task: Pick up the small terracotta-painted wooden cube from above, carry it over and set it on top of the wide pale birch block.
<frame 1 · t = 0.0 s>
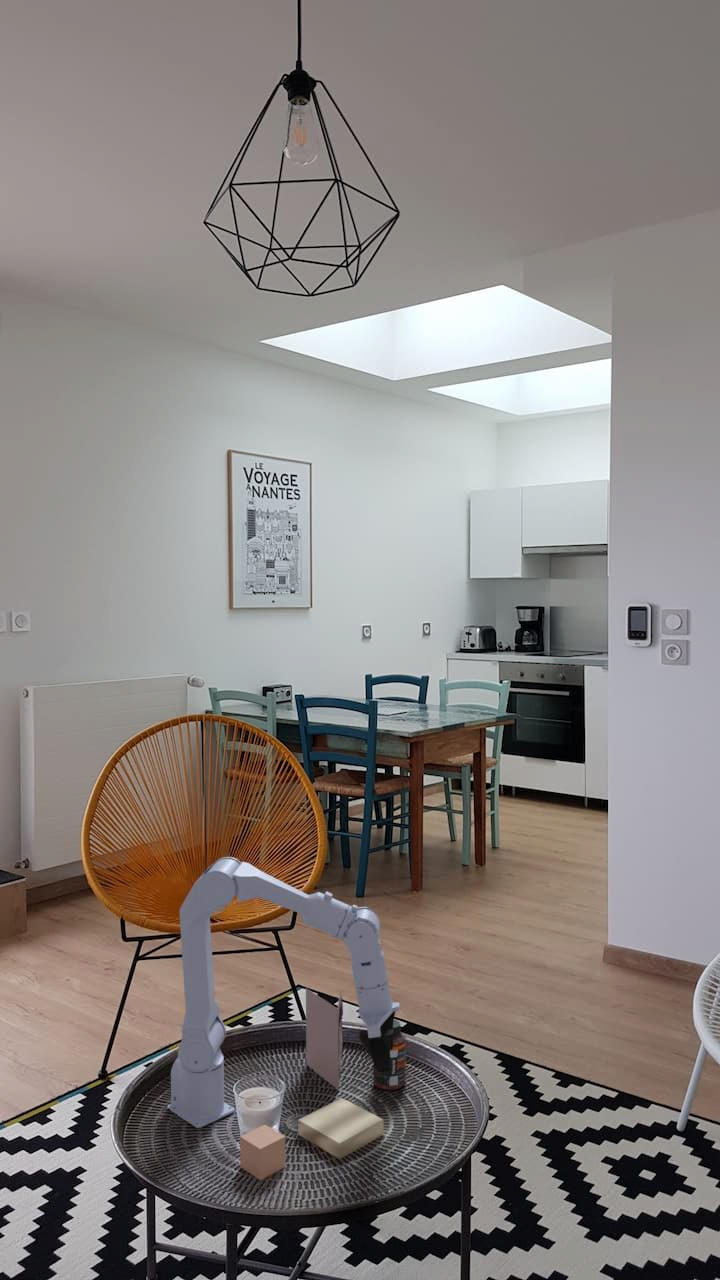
hand: (385, 1060, 170), 11 cm above the table, tool pointing down, fingers open, 7 cm apart
birch block: (340, 1137, 166), on the table
supplement bottle: (389, 1084, 183), on the table
terracotta cube: (263, 1167, 157), on the table
greeting card: (324, 1075, 187), on the table
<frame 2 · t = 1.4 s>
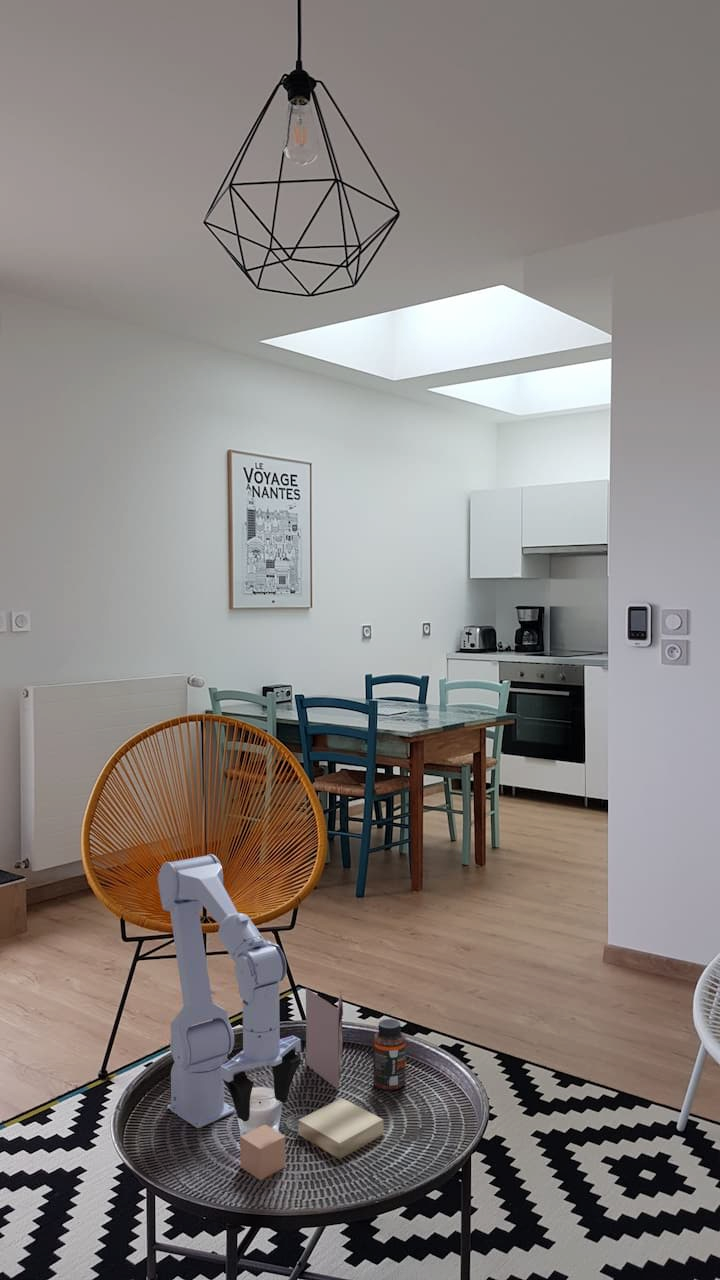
hand: (262, 1109, 157), 9 cm above the table, tool pointing down, fingers open, 7 cm apart
nothing on the table moved.
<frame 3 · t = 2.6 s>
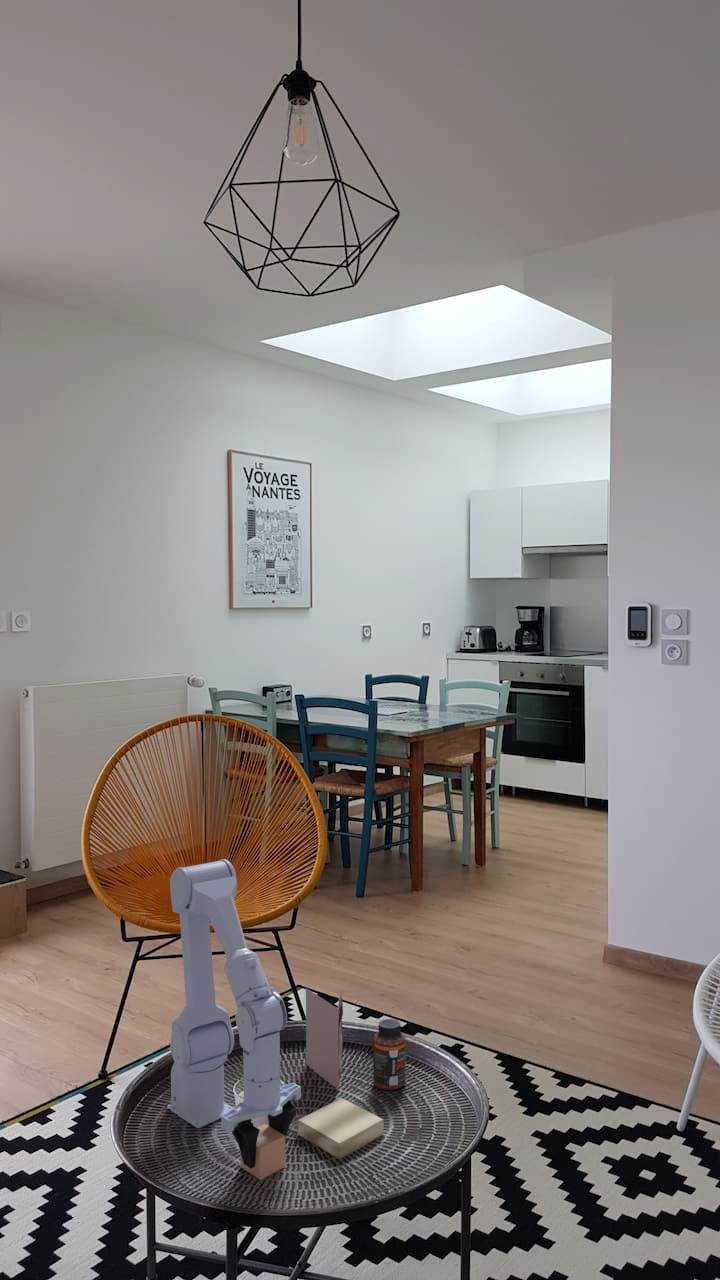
hand: (262, 1157, 157), 1 cm above the table, tool pointing down, fingers closed on terracotta cube, 5 cm apart
terracotta cube: (262, 1166, 157), on the table, touching gripper
everything else where it was.
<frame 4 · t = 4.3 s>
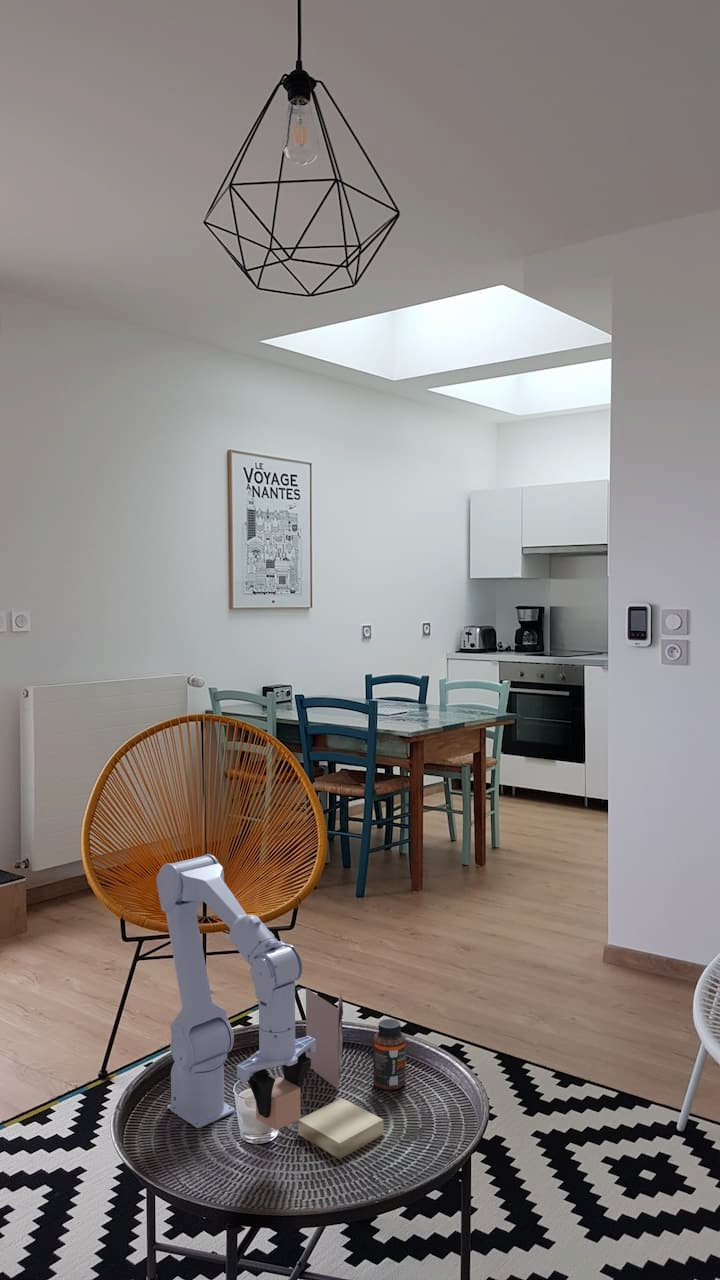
hand: (278, 1108, 159), 8 cm above the table, tool pointing down, fingers closed on terracotta cube, 5 cm apart
terracotta cube: (278, 1118, 159), point 7 cm above the table, touching gripper
everything else where it was.
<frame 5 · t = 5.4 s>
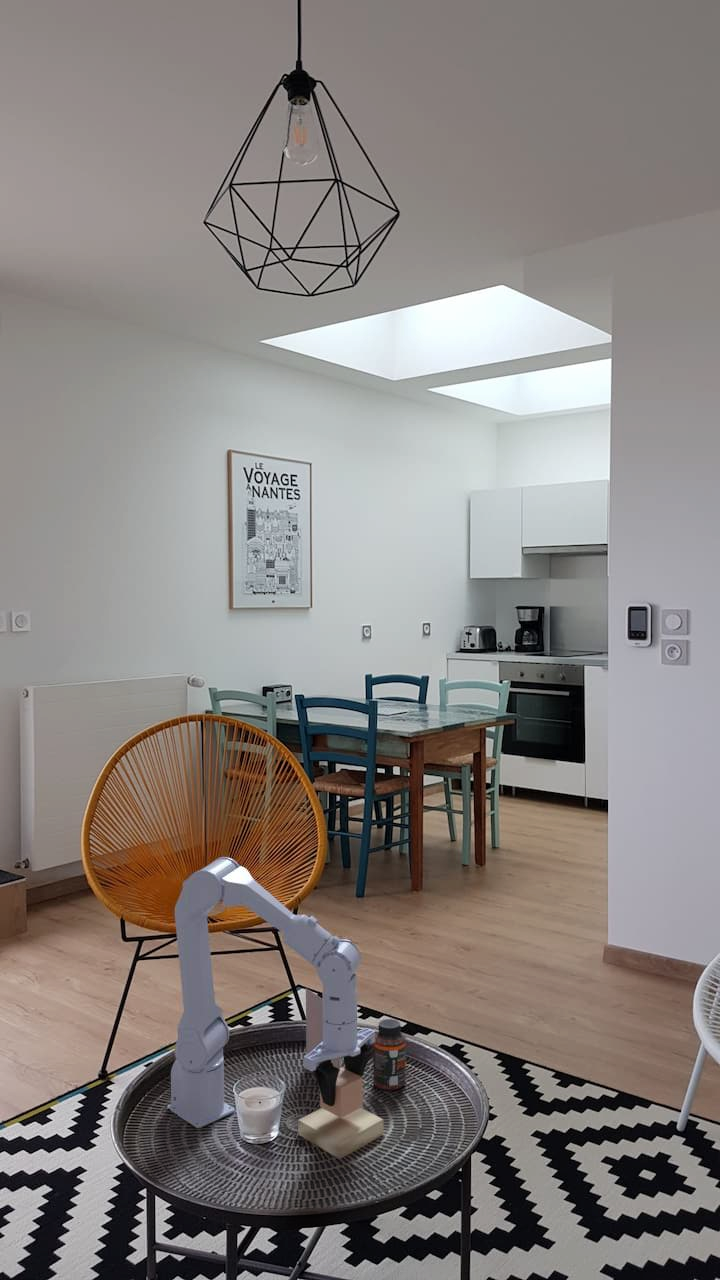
hand: (340, 1097, 166), 6 cm above the table, tool pointing down, fingers closed on terracotta cube, 5 cm apart
terracotta cube: (341, 1106, 166), point 5 cm above the table, touching gripper
everything else where it was.
when the fingers open (5 cm above the table, at t = 6.0 s): terracotta cube drops 1 cm, resting on birch block.
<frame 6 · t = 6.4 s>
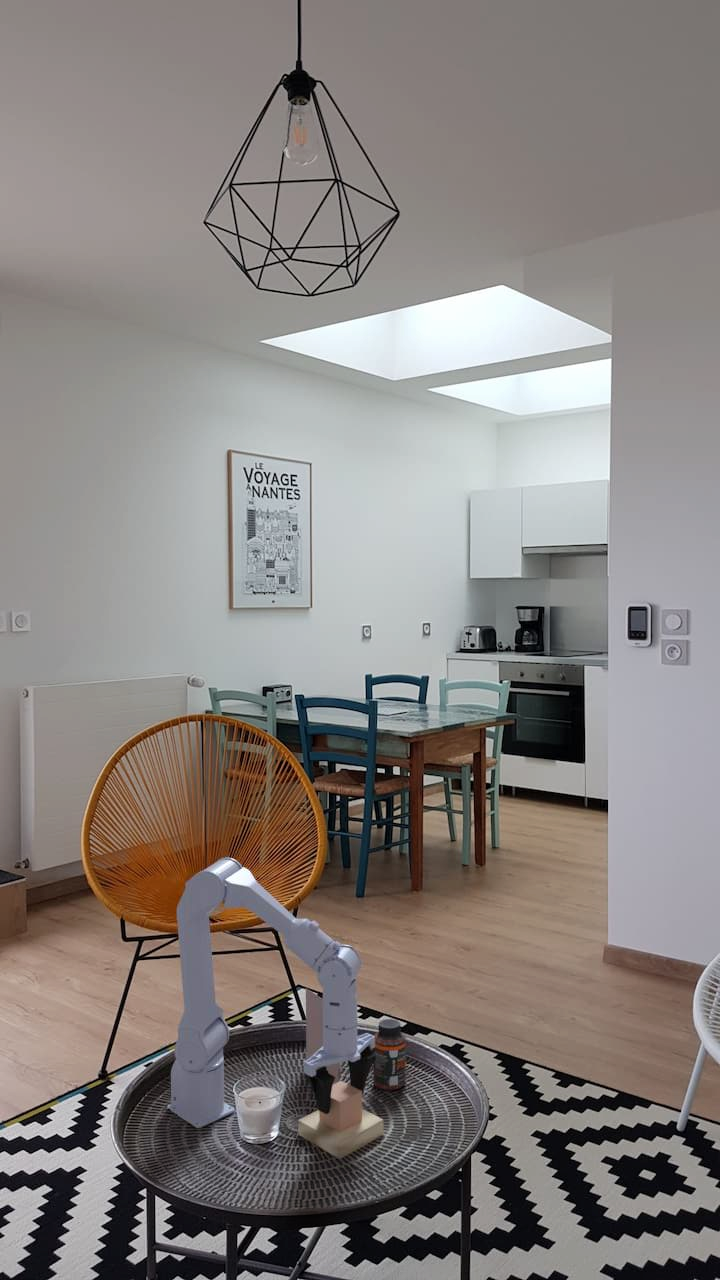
hand: (340, 1102, 166), 5 cm above the table, tool pointing down, fingers open, 7 cm apart
birch block: (340, 1137, 166), on the table, touching terracotta cube
terracotta cube: (340, 1120, 166), point 2 cm above the table, touching birch block
everything else where it was.
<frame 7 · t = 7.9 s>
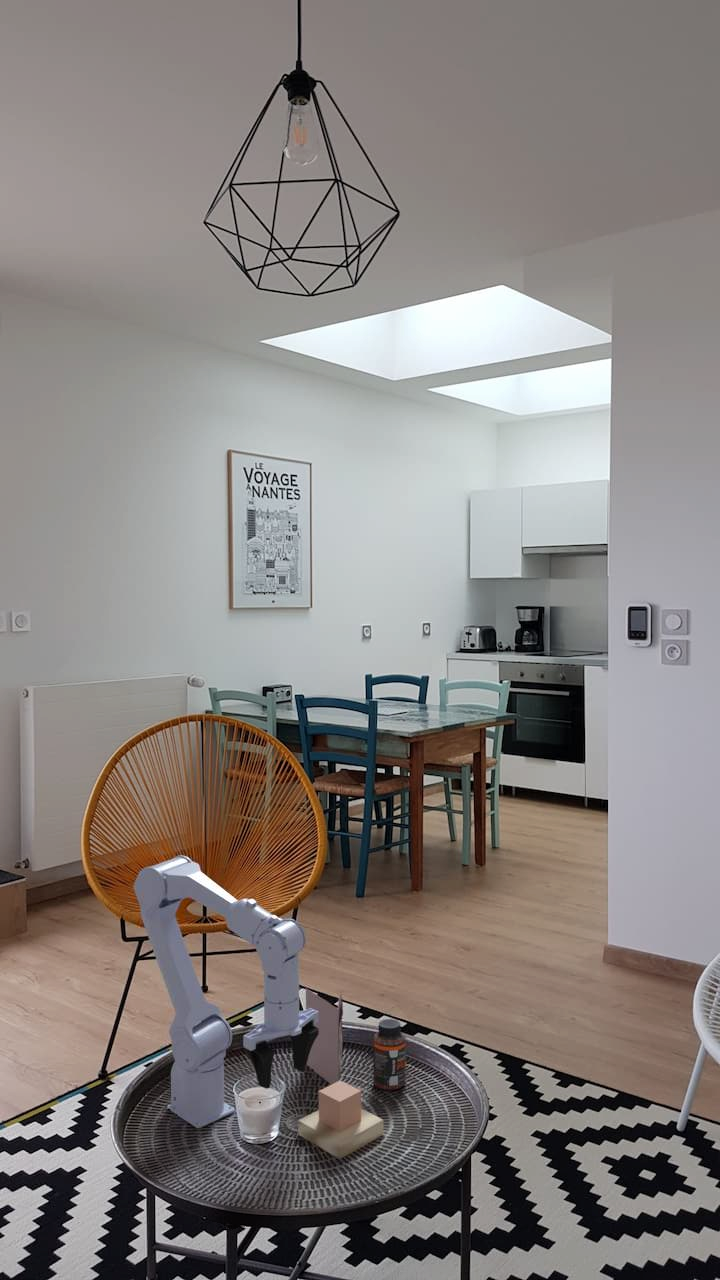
hand: (282, 1077, 165), 10 cm above the table, tool pointing down, fingers open, 7 cm apart
birch block: (340, 1137, 166), on the table
terracotta cube: (340, 1120, 166), point 2 cm above the table
everything else where it was.
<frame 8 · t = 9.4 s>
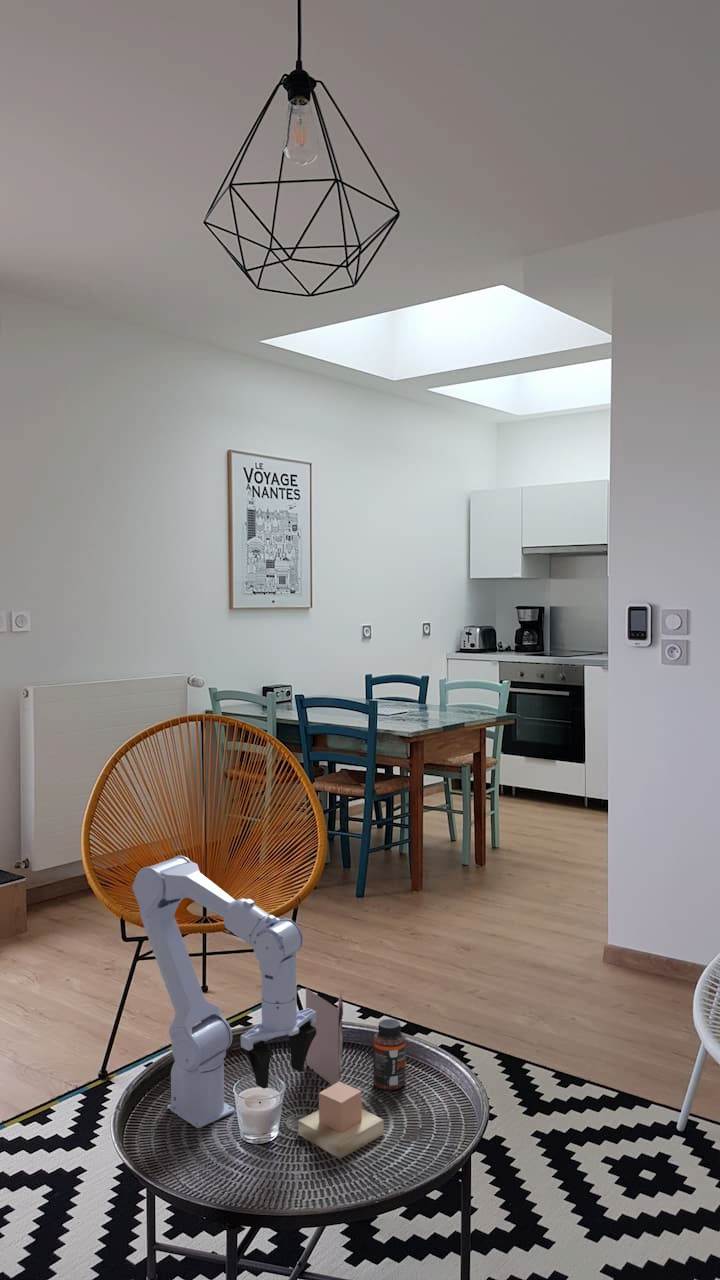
hand: (280, 1077, 164), 10 cm above the table, tool pointing down, fingers open, 7 cm apart
nothing on the table moved.
at the end: terracotta cube 0.5 cm off-centre on the birch block, point 3.0 cm above the birch block's base; terracotta cube tilted 0°; the gripper is holding nothing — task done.
